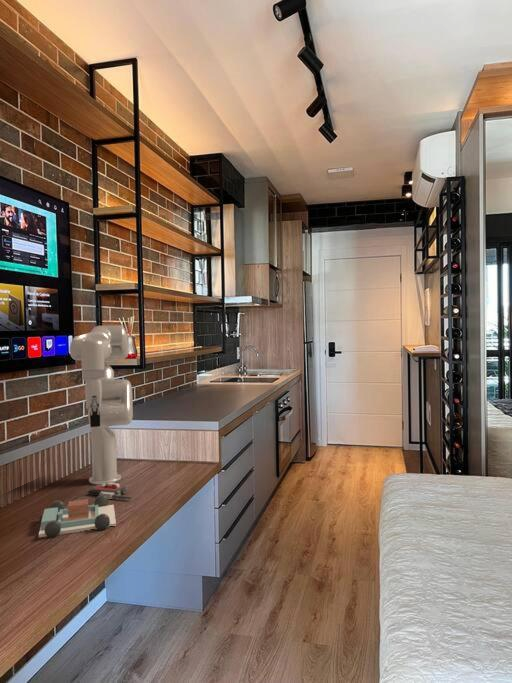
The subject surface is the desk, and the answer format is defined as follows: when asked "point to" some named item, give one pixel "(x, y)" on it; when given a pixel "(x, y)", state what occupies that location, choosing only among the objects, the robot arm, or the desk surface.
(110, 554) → the desk surface
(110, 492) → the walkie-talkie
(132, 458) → the desk surface
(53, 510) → the chassis
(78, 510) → the orange-brown block
